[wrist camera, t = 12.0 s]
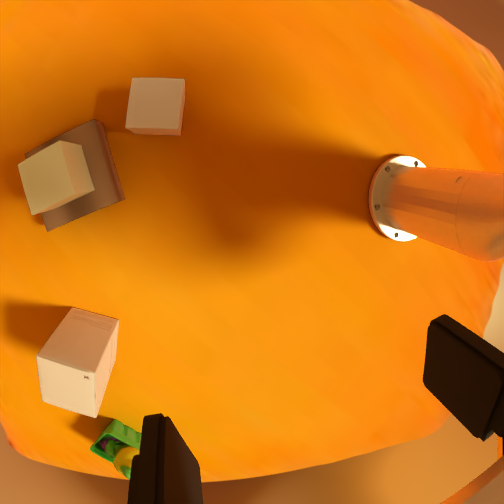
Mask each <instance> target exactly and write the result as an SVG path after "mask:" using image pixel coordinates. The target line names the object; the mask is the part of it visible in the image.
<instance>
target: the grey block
mask: <svg viewBox="0 0 504 504" xmlns="http://www.w3.org/2000/svg"><path fill="white" fill-rule="evenodd" d="M185 96H186V88H185V79H181V78H132V83H131V89H130V95H129V102H128V109H127V116H126V124H125V128H126V129H128V130H130V131H131V132H133V133H134V134H145V135H174V136H181V128H182V120H183V111H184V104H185Z"/></svg>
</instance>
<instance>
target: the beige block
mask: <svg viewBox="0 0 504 504" xmlns="http://www.w3.org/2000/svg"><path fill="white" fill-rule="evenodd" d="M18 169H19V173H20V177H21V181H22V184H23V188H24V191H25V195H26V198H27V202H28V205H29V208H30V211H31V214H32V215H35V214H39V213H42V212H45V211H48V210H52V209H55V208H58V207H60V206H62V205H64V204H66V203H68V202H70V201H72V200H74V199H77V198H79V197H81V196H83V195H85V194H87V193H90V192H92V191H94V190H95V189H94V186H93V183H92V180H91V177H90V173H89V170H88V167H87V164H86V160H85V157H84V153H83V150H82V146H81V145H78V144H74V143H69V142H65V141H58V142H56V143H54V144H52V145H50V146H48V147H47V148H45V149H43V150H41V151H39V152H38V153H36V154H34V155H33V156H31V157H29V158H27V159H26V160H24V161H22V162H21V163H19V164H18Z"/></svg>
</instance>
